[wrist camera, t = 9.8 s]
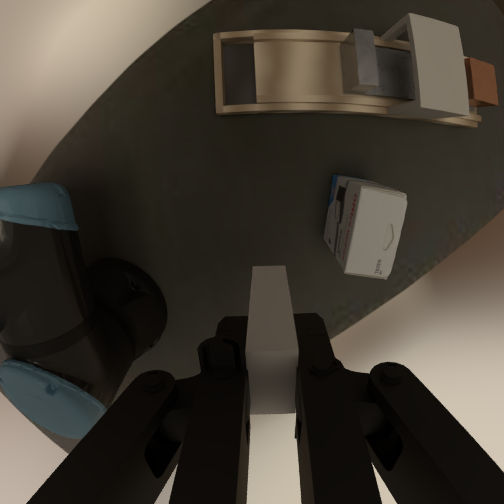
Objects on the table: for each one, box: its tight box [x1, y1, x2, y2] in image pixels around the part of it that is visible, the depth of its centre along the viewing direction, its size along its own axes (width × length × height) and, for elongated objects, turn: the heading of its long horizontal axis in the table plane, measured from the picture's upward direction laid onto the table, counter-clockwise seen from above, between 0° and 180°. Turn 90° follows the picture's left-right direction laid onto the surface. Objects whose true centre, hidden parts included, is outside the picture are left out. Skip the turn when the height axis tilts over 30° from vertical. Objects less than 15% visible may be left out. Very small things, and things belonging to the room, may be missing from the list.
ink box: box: [323, 175, 407, 279], centre depth 32 cm, size 8×5×12 cm, turn 173°
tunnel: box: [380, 13, 470, 119], centre depth 25 cm, size 6×10×8 cm, turn 3°
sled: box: [340, 29, 498, 112], centre depth 26 cm, size 18×6×6 cm, turn 93°
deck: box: [213, 30, 481, 128], centre depth 30 cm, size 34×10×4 cm, turn 93°
